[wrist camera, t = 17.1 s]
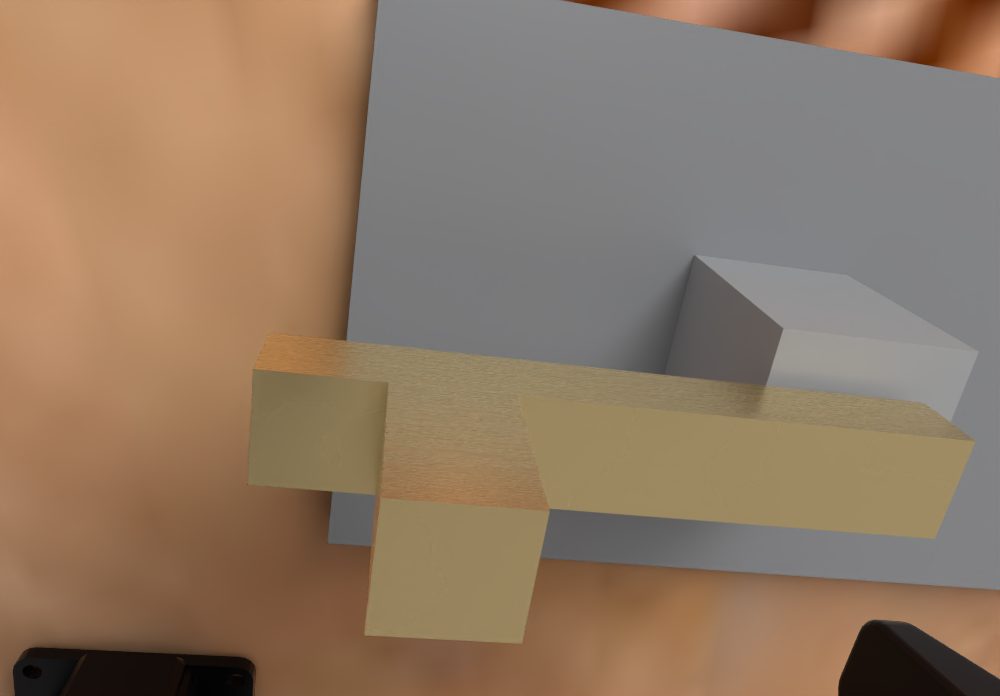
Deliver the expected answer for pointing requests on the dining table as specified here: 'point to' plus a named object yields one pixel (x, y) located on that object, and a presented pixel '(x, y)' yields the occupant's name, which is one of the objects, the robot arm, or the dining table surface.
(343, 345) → the latch bolt
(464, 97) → the base plate
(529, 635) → the dining table surface
